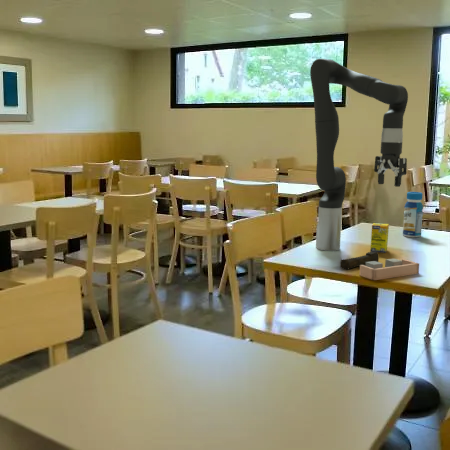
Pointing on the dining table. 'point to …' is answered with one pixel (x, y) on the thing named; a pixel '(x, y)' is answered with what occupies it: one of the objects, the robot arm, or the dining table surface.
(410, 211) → the beverage bottle
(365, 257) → the hand tool
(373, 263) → the stone
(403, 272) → the pink rectangular tray
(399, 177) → the robot arm
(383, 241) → the supplement box
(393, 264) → the stone
